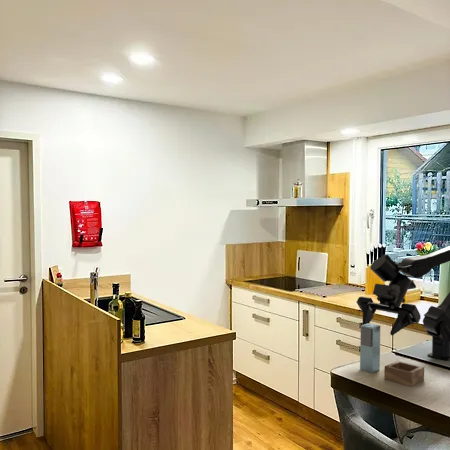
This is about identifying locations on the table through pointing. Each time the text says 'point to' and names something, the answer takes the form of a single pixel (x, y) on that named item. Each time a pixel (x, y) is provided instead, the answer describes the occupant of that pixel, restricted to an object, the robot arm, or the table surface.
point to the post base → (404, 373)
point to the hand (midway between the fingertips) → (376, 331)
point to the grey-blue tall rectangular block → (370, 348)
